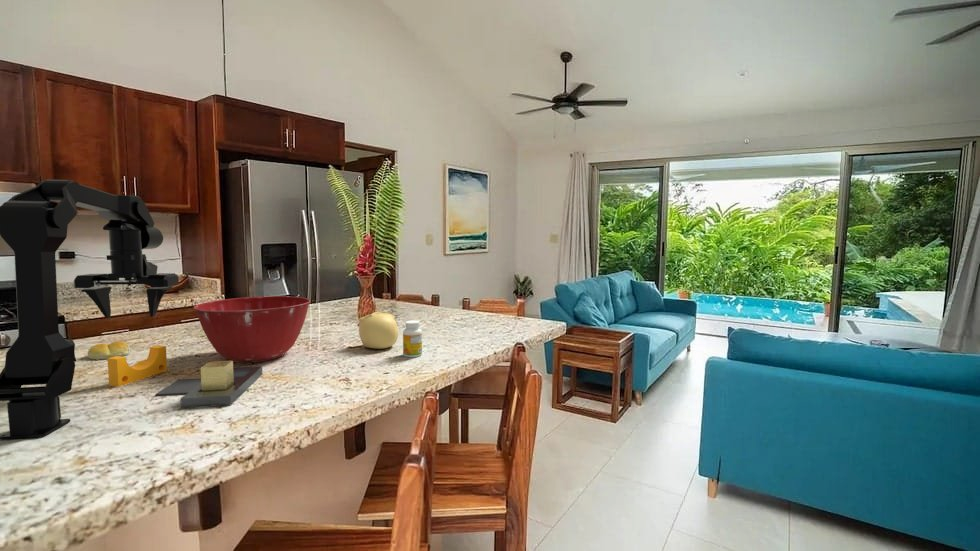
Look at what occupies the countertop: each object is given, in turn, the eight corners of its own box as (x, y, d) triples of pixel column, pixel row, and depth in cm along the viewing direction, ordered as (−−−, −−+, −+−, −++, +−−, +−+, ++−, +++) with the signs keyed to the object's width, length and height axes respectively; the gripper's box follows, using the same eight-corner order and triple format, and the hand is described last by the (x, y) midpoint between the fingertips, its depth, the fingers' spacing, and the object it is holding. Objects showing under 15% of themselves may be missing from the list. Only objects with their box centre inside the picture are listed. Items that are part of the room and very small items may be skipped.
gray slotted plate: (230, 405, 89) (230, 395, 89) (181, 408, 87) (180, 398, 87) (262, 374, 109) (262, 366, 109) (222, 376, 107) (222, 368, 107)
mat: (207, 393, 96) (207, 391, 96) (155, 395, 94) (155, 394, 94) (225, 378, 105) (225, 376, 105) (179, 380, 104) (179, 378, 103)
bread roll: (90, 355, 124) (89, 341, 124) (131, 351, 129) (130, 337, 129) (85, 362, 117) (84, 348, 117) (128, 357, 123) (127, 343, 122)
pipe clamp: (152, 370, 112) (151, 344, 111) (167, 371, 111) (165, 346, 110) (102, 385, 100) (101, 358, 99) (118, 387, 99) (116, 359, 98)
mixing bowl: (203, 349, 131) (200, 298, 129) (307, 340, 144) (305, 292, 142) (189, 377, 106) (186, 313, 104) (317, 363, 119) (315, 306, 117)
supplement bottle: (401, 353, 128) (400, 320, 128) (419, 351, 131) (419, 319, 130) (405, 358, 124) (405, 324, 123) (424, 356, 126) (424, 322, 125)
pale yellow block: (226, 399, 92) (224, 366, 92) (202, 400, 92) (200, 367, 91) (234, 391, 97) (232, 360, 96) (211, 392, 96) (210, 361, 95)
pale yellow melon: (392, 340, 144) (391, 307, 143) (403, 349, 134) (402, 314, 133) (356, 344, 139) (355, 310, 138) (364, 353, 128) (364, 317, 127)
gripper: (188, 249, 111) (191, 310, 113) (103, 249, 108) (107, 312, 109) (164, 251, 101) (168, 318, 102) (69, 250, 97) (74, 321, 99)
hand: (130, 317), depth 103 cm, fingers open, 9 cm apart
